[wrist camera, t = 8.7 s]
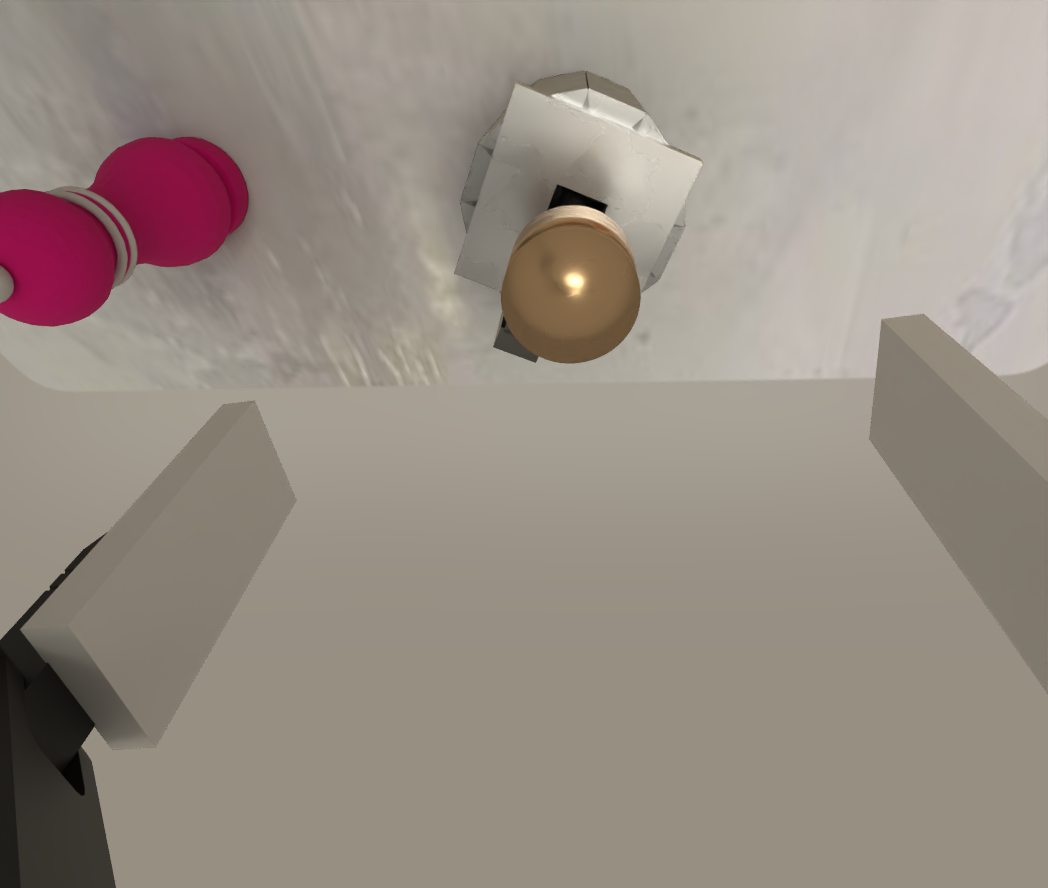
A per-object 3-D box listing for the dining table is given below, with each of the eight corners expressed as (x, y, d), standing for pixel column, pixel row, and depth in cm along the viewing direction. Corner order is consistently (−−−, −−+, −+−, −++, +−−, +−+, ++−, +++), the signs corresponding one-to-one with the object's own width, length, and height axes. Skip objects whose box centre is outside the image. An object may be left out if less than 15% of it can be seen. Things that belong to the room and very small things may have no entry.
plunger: (492, 215, 40) (430, 357, 23) (536, 86, 37) (501, 141, 20) (606, 260, 41) (626, 428, 24) (660, 138, 38) (728, 234, 20)
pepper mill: (241, 262, 47) (52, 397, 30) (136, 212, 46) (-123, 324, 29) (269, 162, 44) (72, 252, 27) (156, 105, 42) (-126, 161, 25)
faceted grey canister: (458, 255, 46) (415, 338, 34) (526, 44, 39) (503, 53, 27) (596, 308, 47) (602, 406, 35) (684, 112, 41) (729, 150, 29)
